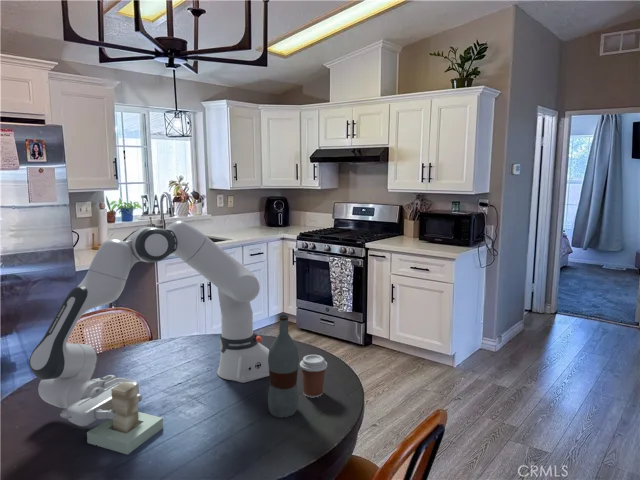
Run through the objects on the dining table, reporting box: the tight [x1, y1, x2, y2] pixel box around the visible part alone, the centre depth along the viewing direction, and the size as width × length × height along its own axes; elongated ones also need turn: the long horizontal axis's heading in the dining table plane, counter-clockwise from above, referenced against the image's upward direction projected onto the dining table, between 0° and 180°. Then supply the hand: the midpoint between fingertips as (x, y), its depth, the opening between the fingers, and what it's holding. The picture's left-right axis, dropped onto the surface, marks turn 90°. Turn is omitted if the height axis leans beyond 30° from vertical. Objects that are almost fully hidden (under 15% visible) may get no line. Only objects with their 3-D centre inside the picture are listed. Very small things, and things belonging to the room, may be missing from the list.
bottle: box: [267, 314, 300, 419], centre depth 138 cm, size 9×9×30 cm
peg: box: [111, 382, 139, 434], centre depth 125 cm, size 4×4×14 cm
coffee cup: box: [299, 354, 328, 399], centre depth 151 cm, size 9×9×12 cm
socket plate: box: [86, 411, 164, 456], centre depth 126 cm, size 14×14×3 cm
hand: (127, 406), depth 124 cm, fingers open, 8 cm apart
